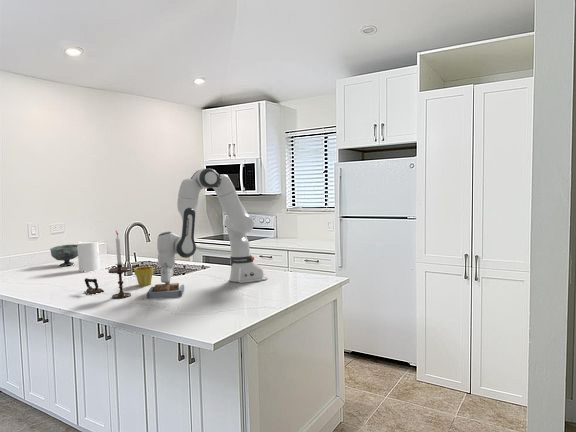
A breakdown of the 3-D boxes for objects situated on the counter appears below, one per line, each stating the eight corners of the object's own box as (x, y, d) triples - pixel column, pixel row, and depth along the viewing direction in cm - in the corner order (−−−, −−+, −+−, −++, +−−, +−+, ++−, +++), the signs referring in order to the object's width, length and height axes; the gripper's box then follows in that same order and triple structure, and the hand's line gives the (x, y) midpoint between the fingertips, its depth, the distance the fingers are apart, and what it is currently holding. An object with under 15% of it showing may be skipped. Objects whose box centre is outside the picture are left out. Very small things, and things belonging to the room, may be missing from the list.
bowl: (46, 268, 308) (44, 248, 307) (64, 263, 327) (62, 244, 326) (69, 268, 305) (68, 247, 304) (86, 263, 324) (85, 244, 323)
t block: (179, 290, 224) (178, 283, 224) (176, 296, 212) (175, 288, 212) (156, 291, 223) (155, 284, 222) (151, 297, 211) (151, 289, 210)
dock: (184, 290, 224) (184, 284, 224) (181, 296, 210) (181, 290, 210) (151, 292, 222) (151, 286, 222) (146, 299, 208) (146, 293, 208)
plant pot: (148, 286, 235) (147, 269, 234) (131, 286, 237) (130, 269, 236) (157, 282, 245) (156, 266, 244) (141, 282, 247) (140, 266, 246)
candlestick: (106, 299, 211) (101, 231, 208) (117, 293, 221) (113, 228, 219) (125, 299, 209) (121, 230, 207) (136, 293, 220) (132, 228, 217)
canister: (94, 271, 286) (92, 243, 285) (75, 272, 287) (73, 244, 285) (103, 268, 300) (101, 240, 298) (85, 268, 300) (83, 241, 299)
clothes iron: (93, 296, 221) (87, 278, 220) (82, 298, 227) (76, 281, 227) (104, 291, 226) (99, 274, 226) (93, 294, 233) (88, 277, 233)
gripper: (169, 265, 214) (171, 291, 215) (175, 258, 234) (176, 282, 235) (157, 265, 213) (158, 292, 214) (163, 259, 233) (164, 283, 234)
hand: (167, 287), depth 225 cm, fingers closed
